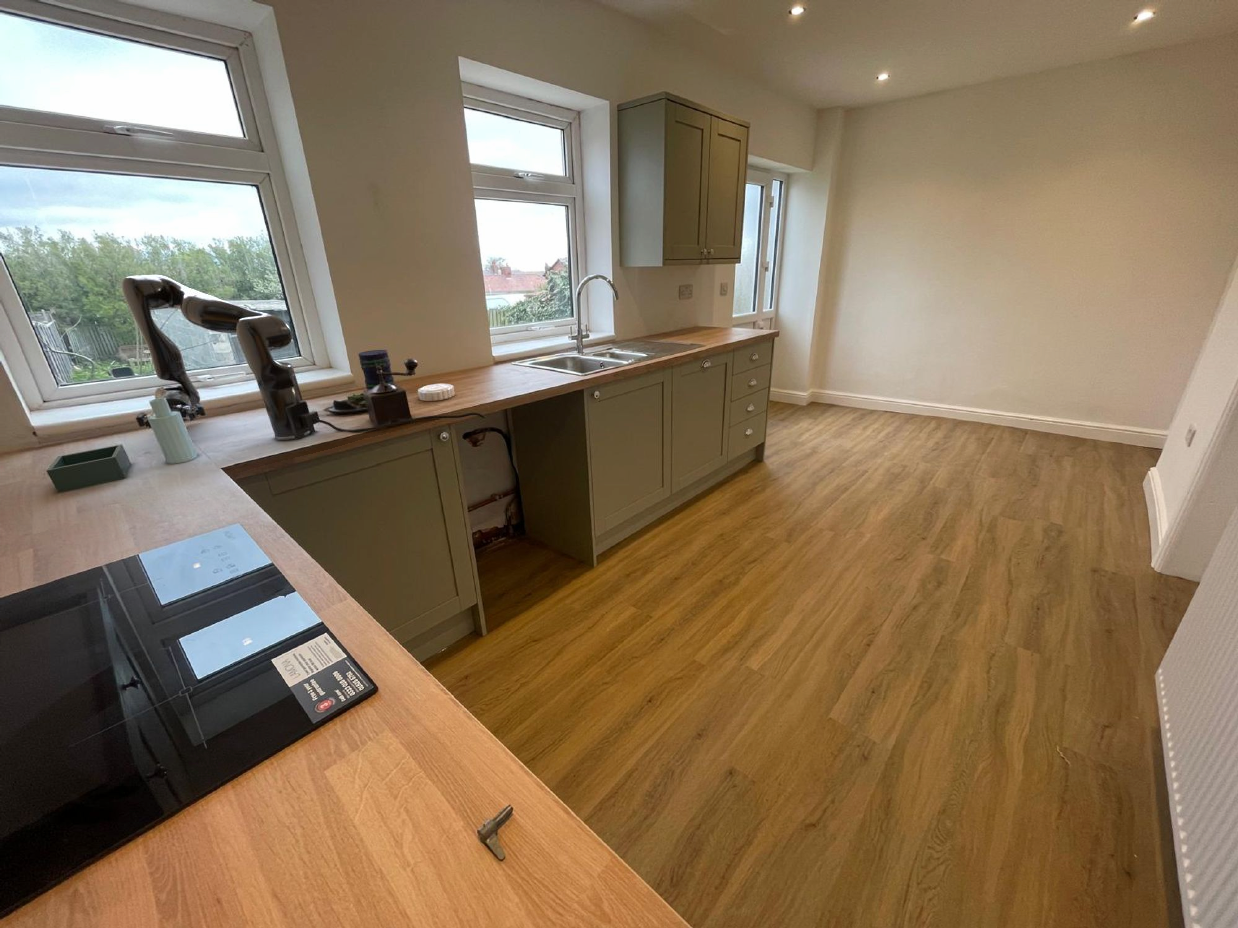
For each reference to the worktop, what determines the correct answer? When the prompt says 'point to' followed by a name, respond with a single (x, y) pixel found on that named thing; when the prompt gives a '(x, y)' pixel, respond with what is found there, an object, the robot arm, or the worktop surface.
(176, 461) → the bottle
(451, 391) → the mooncake
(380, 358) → the storage jar
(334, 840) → the worktop surface
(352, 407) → the salad plate
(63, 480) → the dark green open box
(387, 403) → the manual coffee grinder
